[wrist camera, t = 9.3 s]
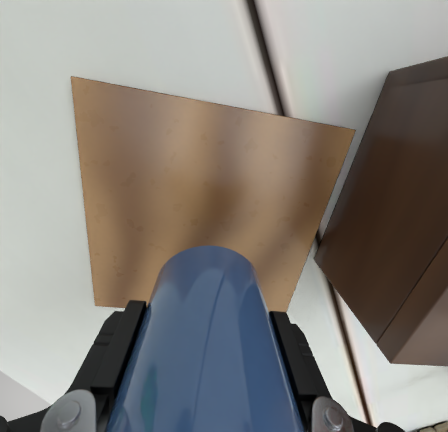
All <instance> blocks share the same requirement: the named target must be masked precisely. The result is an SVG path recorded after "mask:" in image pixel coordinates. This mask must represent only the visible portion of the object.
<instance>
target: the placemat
mask: <svg viewBox="0 0 448 432" xmlns="http://www.w3.org/2000/svg"><path fill="white" fill-rule="evenodd" d="M71 84H72V93H73V103H74V112H75V121H76V131H77V140H78V150H79V159H80V169H81V178H82V187H83V197H84V206H85V216H86V225H87V234H88V244H89V253H90V263H91V272H92V282H93V291H94V300H95V306H103V307H117V308H126V306H127V304H128V302H129V300H140V301H146V302H147V305H148V302H149V299H150V296H151V293H152V290H153V288H154V285H155V282H156V279H157V276H158V273H159V271H160V269H161V268H162V267H163V265H164V264H165V263H166V262H167V261H168V260H169V259H170V258H172V257H173V256H174V255H176V254H178V253H179V252H181V251H184V250H186V249H189V248H192V247H197V246H207V245H210V246H220V247H225V248H228V249H231V250H233V251H236V252H238V253H239V254H241V255H243V256H244V257H245V258H246V259H248V260H249V261H250V262H251V264H252V265H253V266H254V268H255V269H256V271H257V274H258V277H259V280H260V283H261V287H262V290H263V294H264V297H265V300H266V304H267V307H268V310H269V312H270V311H281V312H286V311H287V308H288V305H289V303H290V300H291V298H292V295H293V292H294V290H295V287H296V285H297V282H298V279H299V277H300V274H301V272H302V269H303V266H304V264H305V261H306V259H307V256H308V253H309V251H310V248H311V246H312V243H313V240H314V238H315V235H316V233H317V230H318V227H319V225H320V222H321V220H322V217H323V214H324V212H325V209H326V206H327V204H328V201H329V199H330V196H331V193H332V191H333V188H334V186H335V183H336V180H337V178H338V175H339V173H340V170H341V167H342V165H343V162H344V160H345V157H346V154H347V152H348V149H349V147H350V144H351V141H352V139H353V136H354V134H355V131H356V130H353V129H348V128H343V127H337V126H332V125H327V124H322V123H316V122H311V121H306V120H300V119H295V118H290V117H284V116H279V115H274V114H269V113H263V112H258V111H253V110H247V109H242V108H237V107H231V106H226V105H221V104H216V103H210V102H205V101H200V100H194V99H189V98H184V97H178V96H173V95H168V94H163V93H157V92H152V91H147V90H141V89H136V88H131V87H125V86H120V85H115V84H110V83H104V82H99V81H94V80H88V79H83V78H78V77H72V76H71Z"/></svg>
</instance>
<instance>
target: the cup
mask: <svg viewBox="0 0 448 432" xmlns="http://www.w3.org/2000/svg"><path fill="white" fill-rule="evenodd" d="M104 432H305V431H304V428H303V424H302V421H301V418H300V414H299V411H298V408H297V404H296V401H295V397H294V394H293V391H292V387H291V384H290V381H289V377H288V374H287V371H286V367H285V364H284V361H283V357H282V354H281V351H280V347H279V344H278V340H277V337H276V334H275V330H274V327H273V324H272V320H271V317H270V314H269V310H268V307H267V304H266V300H265V297H264V294H263V290H262V287H261V283H260V280H259V277H258V274H257V271H256V269H255V268H254V266H253V265H252V264H251V262H250V261H249V260H248V259H246V258H245V257H244V256H243V255H241V254H239V253H238V252H236V251H233V250H231V249H228V248H225V247H220V246H210V245H207V246H197V247H192V248H189V249H186V250H184V251H181V252H179V253H178V254H176V255H174V256H173V257H172V258H170V259H169V260H168V261H167V262H166V263H165V264H164V265H163V267H162V268H161V269H160V271H159V273H158V276H157V279H156V282H155V285H154V288H153V290H152V293H151V296H150V299H149V302H148V305H147V308H146V311H145V314H144V317H143V319H142V322H141V325H140V328H139V331H138V334H137V337H136V340H135V343H134V346H133V348H132V351H131V354H130V357H129V360H128V363H127V366H126V369H125V372H124V375H123V377H122V380H121V383H120V386H119V389H118V392H117V395H116V398H115V401H114V404H113V407H112V409H111V412H110V415H109V418H108V421H107V424H106V427H105V430H104Z"/></svg>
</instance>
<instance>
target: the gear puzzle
mask: <svg viewBox="0 0 448 432" xmlns="http://www.w3.org/2000/svg"><path fill="white" fill-rule="evenodd" d="M419 432H448V422H447V423H442V424H438V425H436V426H435V427H434V428H431V427H428V428H424V429H422V430H420V431H419Z"/></svg>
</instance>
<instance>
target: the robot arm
mask: <svg viewBox="0 0 448 432" xmlns="http://www.w3.org/2000/svg"><path fill="white" fill-rule="evenodd" d="M146 308H147V302H146V301H140V300H129V302H128V304H127V306H126V308H125V310H124V312H120V311H115V312H114V313H113V314H112V315H111V316H110V317H109V318H107V319H106V320H105V322H104V324H103V326H102V328H101V330H100V331H99V334H98V335H97V337H96V339H95V341H94V344H93V345H92V347H91V349H90V351H89V352H88V354H87V356H86V358H85V360H84V362H83V364H82V366H81V368H80V370H79V371H78V373H77V375H76V377H75V379H74V381H73V383H72V385H71V386H70V388H69V389H68V391H67V392H66V393H65V394H64V395H63V396H62V397H61V398H59V399H58V400H57V401H56V402H55V403H54V404H53V405H51V406H49V407H48V408H46V409H44V410H42V411H40V412H37V413H34V414H31V415H28V416H25V417H21V418H18V419H15V420H12V421H9V422H7V421H6V419H5V418H4V417H2V416H0V432H104V430H105V427H106V424H107V421H108V418H109V415H110V412H111V409H112V407H113V404H114V401H115V398H116V395H117V392H118V389H119V386H120V383H121V380H122V377H123V375H124V372H125V369H126V366H127V363H128V360H129V357H130V354H131V351H132V348H133V346H134V343H135V340H136V337H137V334H138V331H139V328H140V325H141V322H142V319H143V317H144V314H145V311H146ZM269 314H270V317H271V320H272V324H273V327H274V330H275V334H276V337H277V340H278V344H279V347H280V351H281V354H282V357H283V361H284V364H285V367H286V371H287V374H288V377H289V381H290V384H291V387H292V391H293V394H294V397H295V401H296V404H297V408H298V411H299V414H300V418H301V421H302V424H303V428H304V431H305V432H405V431H404V430H403V429H401V428H400V427H398V426H397V425H395V424H392V423H389V422H383V423H381V424H380V425H379V426H378V427H377V428H376V427H373V426H371V425H368V424H366V423H364V422H361V421H359V420H357V419H354V418H352V417H350V416H349V415H348V414H347V413H346V411H345V410H344V409H343V407H342V406H341V405H340V404H339V403H337V402H336V401H335V400H333V399H332V397H331V395H330V393H329V391H328V388H327V386H326V384H325V382H324V379H323V377H322V375H321V372H320V370H319V368H318V365H317V363H316V361H315V358H314V357H313V354H312V351H311V349H310V347H309V344H308V342H307V340H306V337H305V335H304V333H303V332H302V331H301V330H300V328H299V327H298V326H297V325H296V324H291V323H290V321H289V318H288V315H287V313H286V312H281V311H270V312H269Z"/></svg>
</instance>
